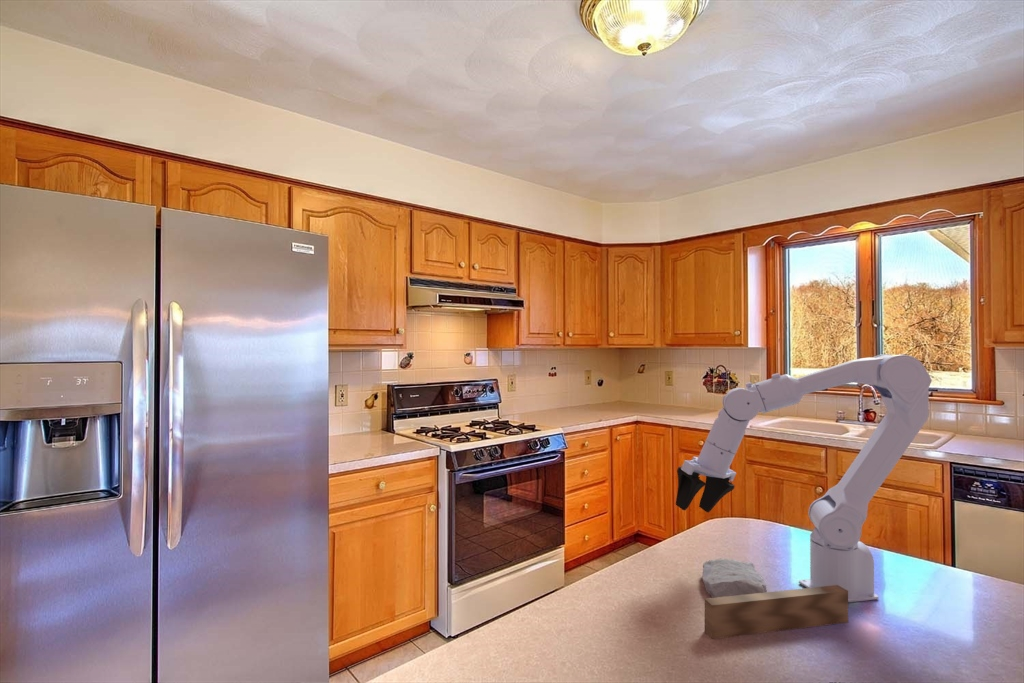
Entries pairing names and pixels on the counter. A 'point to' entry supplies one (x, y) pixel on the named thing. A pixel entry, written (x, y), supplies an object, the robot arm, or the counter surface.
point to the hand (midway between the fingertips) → (692, 508)
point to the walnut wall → (775, 611)
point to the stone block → (731, 578)
